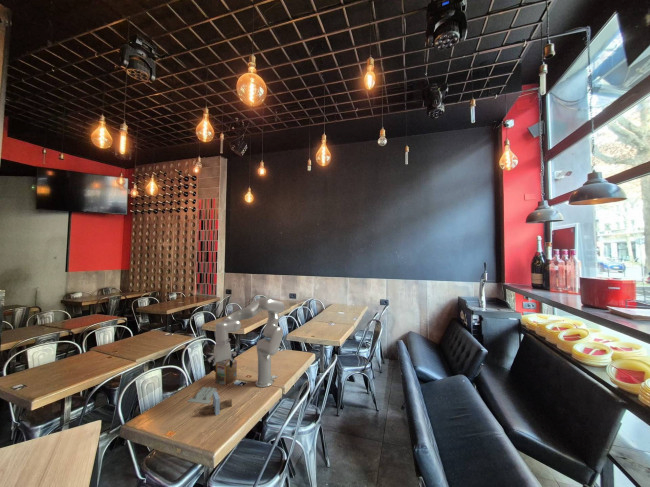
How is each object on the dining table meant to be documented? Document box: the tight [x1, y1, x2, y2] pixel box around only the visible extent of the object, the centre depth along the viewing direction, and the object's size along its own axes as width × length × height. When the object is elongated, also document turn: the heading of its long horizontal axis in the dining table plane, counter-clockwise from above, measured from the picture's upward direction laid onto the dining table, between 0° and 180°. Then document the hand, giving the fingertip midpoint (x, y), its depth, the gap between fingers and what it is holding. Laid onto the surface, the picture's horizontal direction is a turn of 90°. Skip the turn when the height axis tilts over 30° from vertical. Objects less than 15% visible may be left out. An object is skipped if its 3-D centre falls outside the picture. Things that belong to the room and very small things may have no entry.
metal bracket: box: [187, 386, 218, 405], centre depth 172 cm, size 14×6×15 cm
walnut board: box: [198, 398, 233, 417], centre depth 157 cm, size 18×1×4 cm, turn 122°
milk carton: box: [214, 356, 238, 387], centre depth 195 cm, size 11×11×19 cm
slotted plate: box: [212, 390, 221, 416], centre depth 157 cm, size 10×2×9 cm, turn 32°
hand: (223, 369), depth 166 cm, fingers open, 9 cm apart
